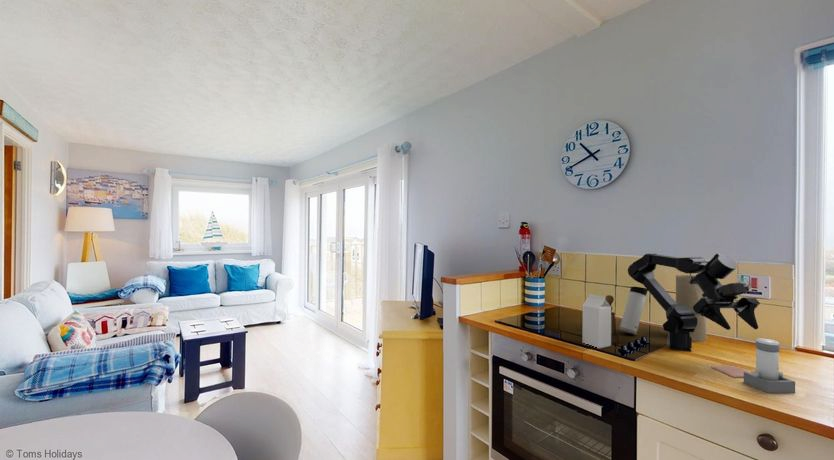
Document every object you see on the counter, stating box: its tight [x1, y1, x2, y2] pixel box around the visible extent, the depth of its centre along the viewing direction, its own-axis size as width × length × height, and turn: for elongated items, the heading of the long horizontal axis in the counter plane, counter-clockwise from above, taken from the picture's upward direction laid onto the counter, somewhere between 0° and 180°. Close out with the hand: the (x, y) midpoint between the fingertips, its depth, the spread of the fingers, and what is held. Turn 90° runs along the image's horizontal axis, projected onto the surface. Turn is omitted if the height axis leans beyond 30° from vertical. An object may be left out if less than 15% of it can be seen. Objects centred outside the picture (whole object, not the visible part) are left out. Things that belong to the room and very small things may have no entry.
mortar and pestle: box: [604, 295, 620, 344], centre depth 145 cm, size 7×6×18 cm
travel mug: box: [619, 286, 649, 335], centre depth 154 cm, size 6×7×20 cm
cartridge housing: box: [743, 370, 796, 394], centre depth 103 cm, size 7×9×4 cm
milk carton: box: [582, 293, 612, 349], centre depth 139 cm, size 7×7×19 cm
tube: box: [675, 274, 707, 343], centre depth 149 cm, size 10×10×25 cm
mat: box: [711, 365, 751, 379], centre depth 113 cm, size 8×8×1 cm
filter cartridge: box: [755, 337, 780, 381], centre depth 103 cm, size 5×5×13 cm
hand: (743, 329), depth 112 cm, fingers open, 9 cm apart
